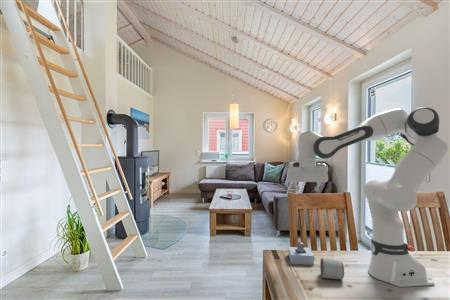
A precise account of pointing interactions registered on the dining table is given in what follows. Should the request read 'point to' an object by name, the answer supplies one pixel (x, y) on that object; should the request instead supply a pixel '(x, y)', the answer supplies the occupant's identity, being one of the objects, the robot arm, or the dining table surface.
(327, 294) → the dining table surface
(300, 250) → the pin
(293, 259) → the collar block
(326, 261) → the ceramic mug
